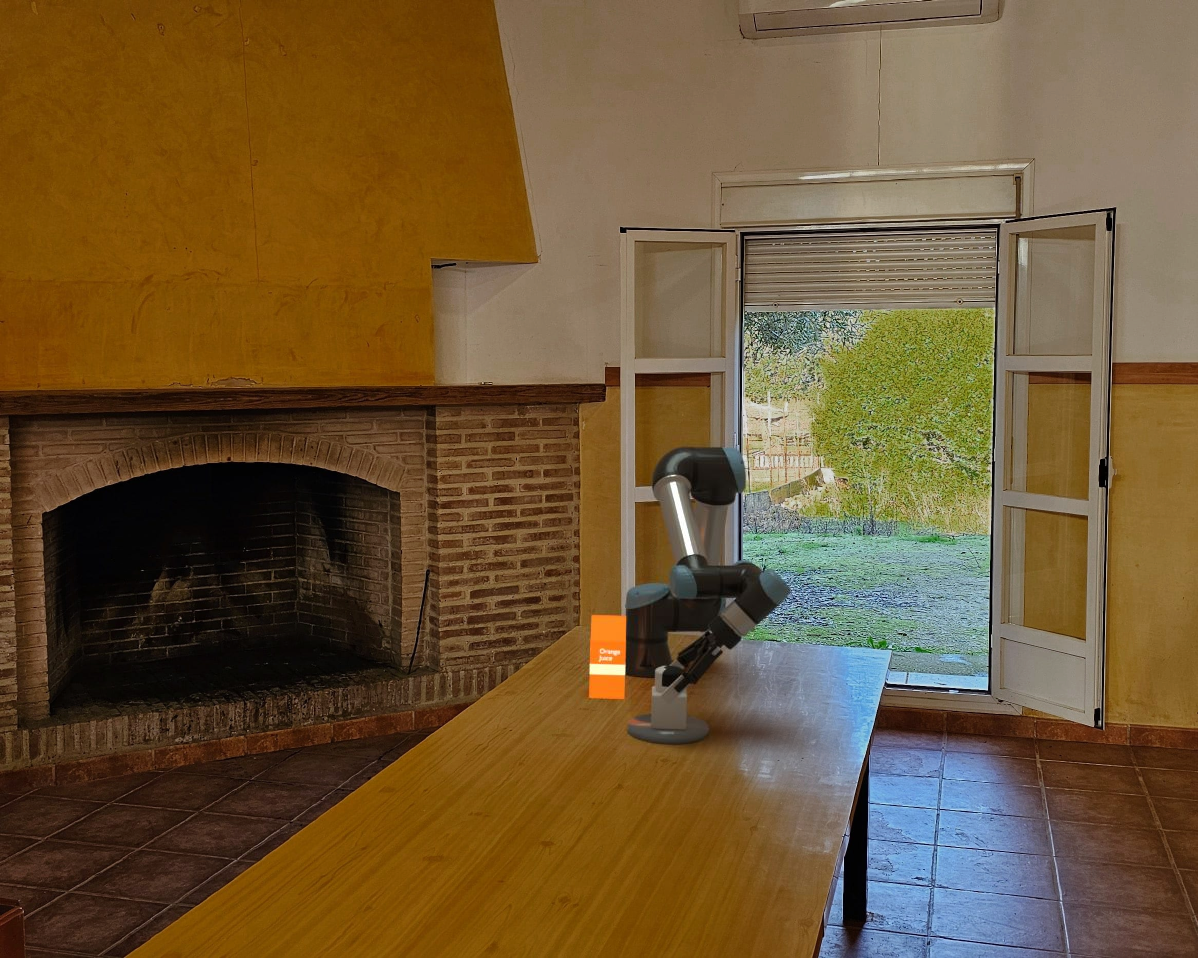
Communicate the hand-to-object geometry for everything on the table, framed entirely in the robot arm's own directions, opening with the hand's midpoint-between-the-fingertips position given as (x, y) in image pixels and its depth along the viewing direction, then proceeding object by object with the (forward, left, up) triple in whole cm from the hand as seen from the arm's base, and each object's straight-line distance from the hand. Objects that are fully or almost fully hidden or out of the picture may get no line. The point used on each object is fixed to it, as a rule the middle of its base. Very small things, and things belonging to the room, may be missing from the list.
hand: (661, 691), depth 249 cm
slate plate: (+1, +1, -9) cm, 9 cm away
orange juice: (-29, +13, -9) cm, 33 cm away
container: (+1, +1, -8) cm, 8 cm away
